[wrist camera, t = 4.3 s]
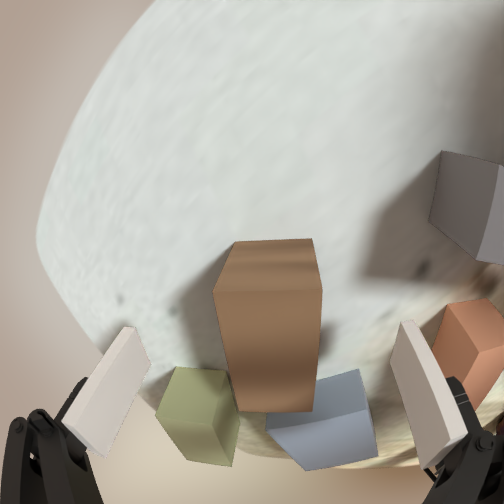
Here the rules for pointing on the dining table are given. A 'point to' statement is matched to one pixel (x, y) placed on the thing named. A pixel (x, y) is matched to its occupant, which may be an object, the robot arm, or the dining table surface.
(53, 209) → the dining table surface
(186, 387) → the olive block
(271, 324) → the walnut block
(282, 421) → the slate slab
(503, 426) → the rock
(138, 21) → the dining table surface
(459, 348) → the terracotta block
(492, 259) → the charcoal block
